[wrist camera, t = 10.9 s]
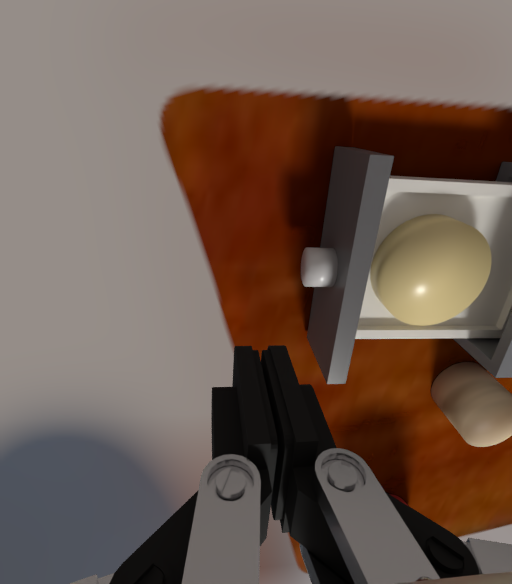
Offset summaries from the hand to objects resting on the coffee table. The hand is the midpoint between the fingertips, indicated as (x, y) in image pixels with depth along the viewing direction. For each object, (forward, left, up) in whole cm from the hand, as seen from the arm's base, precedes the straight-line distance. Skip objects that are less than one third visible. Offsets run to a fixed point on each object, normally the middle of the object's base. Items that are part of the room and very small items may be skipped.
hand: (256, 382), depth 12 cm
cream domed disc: (-6, -11, -12) cm, 17 cm away
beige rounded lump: (-21, -12, -14) cm, 27 cm away
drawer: (-6, -11, -13) cm, 18 cm away
